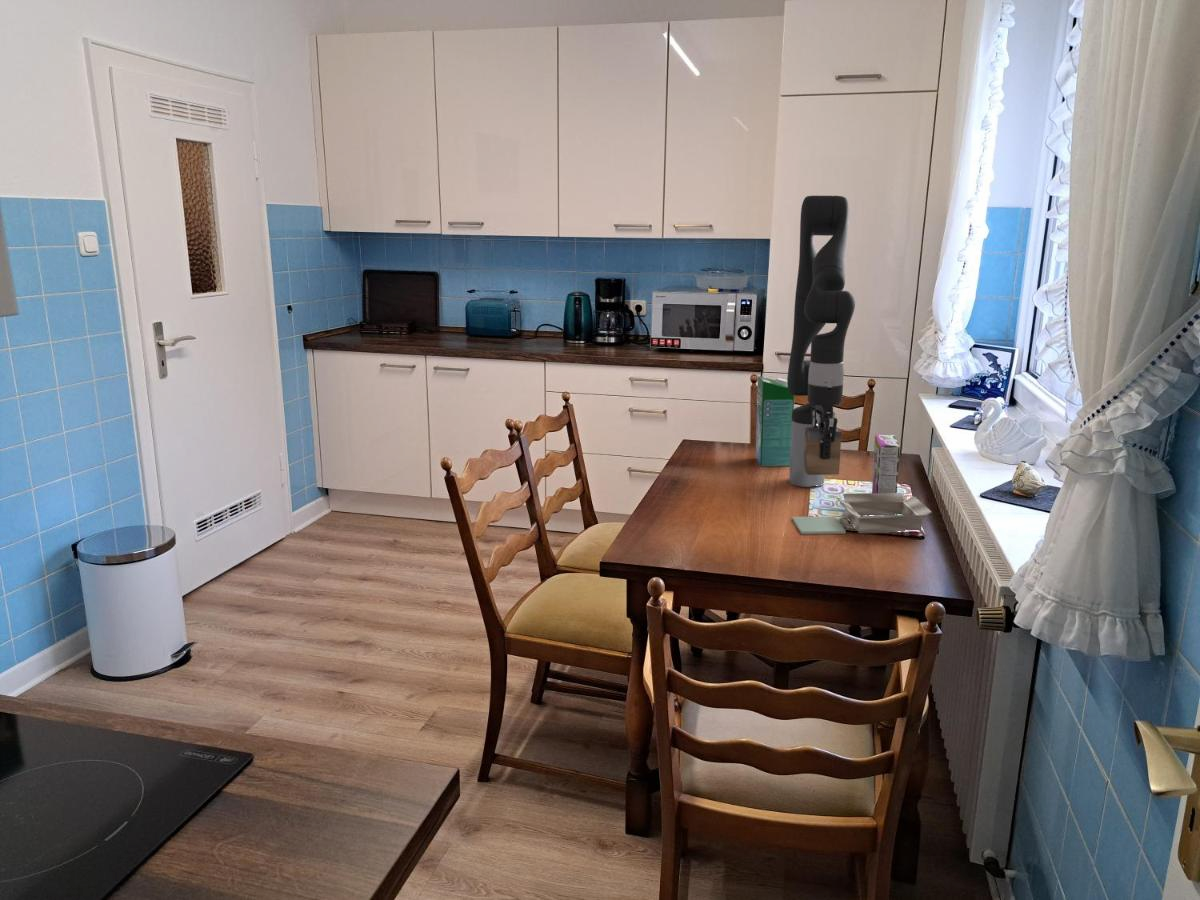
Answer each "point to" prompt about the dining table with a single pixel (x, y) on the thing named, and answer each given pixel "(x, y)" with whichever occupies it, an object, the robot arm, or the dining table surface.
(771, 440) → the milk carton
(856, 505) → the carton
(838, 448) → the block
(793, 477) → the robot arm
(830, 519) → the mat
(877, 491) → the candy bar box
